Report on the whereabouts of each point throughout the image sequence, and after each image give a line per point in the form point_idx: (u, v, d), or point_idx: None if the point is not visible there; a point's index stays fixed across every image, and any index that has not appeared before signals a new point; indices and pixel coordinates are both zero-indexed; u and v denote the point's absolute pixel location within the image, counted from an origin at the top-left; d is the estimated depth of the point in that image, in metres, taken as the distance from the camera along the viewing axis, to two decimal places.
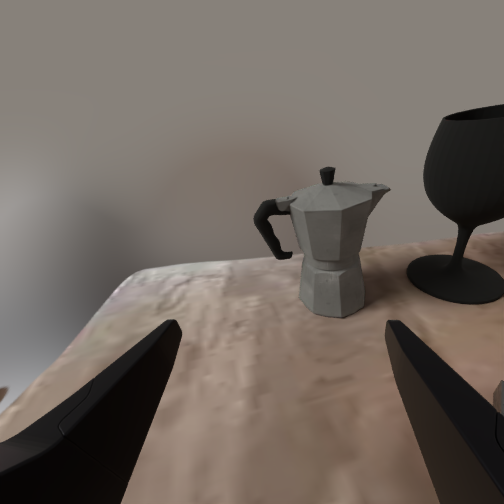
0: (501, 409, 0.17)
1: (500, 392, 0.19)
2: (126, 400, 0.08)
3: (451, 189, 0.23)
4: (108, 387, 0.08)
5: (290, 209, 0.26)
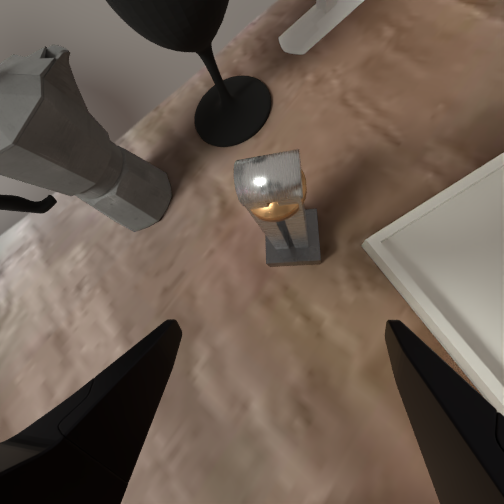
0: (266, 239, 0.23)
1: None
2: (126, 400, 0.08)
3: (134, 16, 0.16)
4: (108, 387, 0.08)
5: None
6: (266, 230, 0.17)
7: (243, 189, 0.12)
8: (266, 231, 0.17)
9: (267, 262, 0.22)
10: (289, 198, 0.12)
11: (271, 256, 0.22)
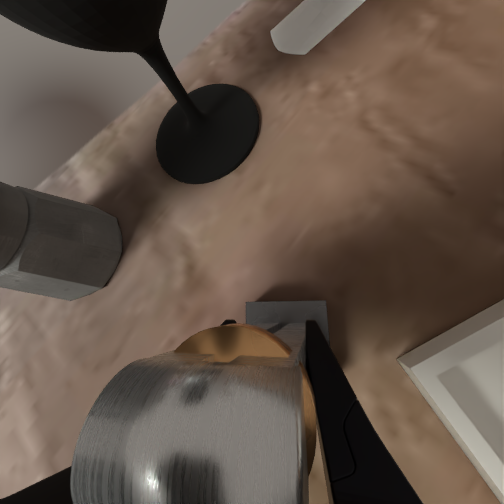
0: None
1: None
2: None
3: None
4: None
5: None
6: None
7: None
8: None
9: None
10: None
11: None
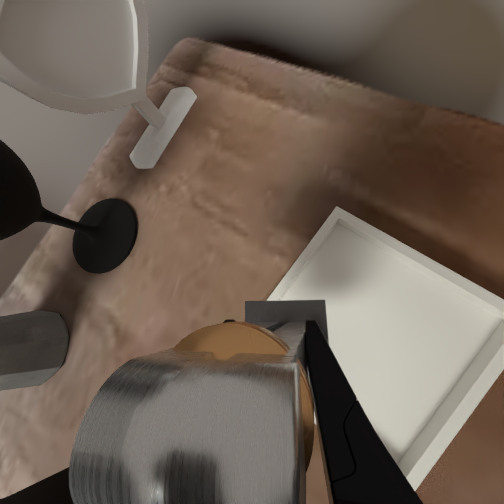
0: None
1: None
2: None
3: None
4: None
5: None
6: None
7: None
8: None
9: None
10: None
11: None
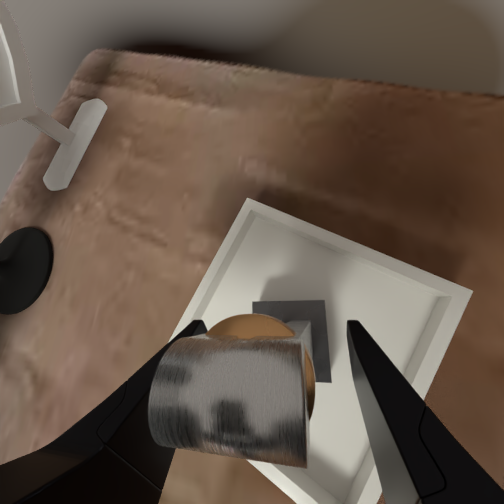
0: None
1: None
2: None
3: None
4: (143, 390, 0.07)
5: None
6: None
7: (171, 443, 0.05)
8: None
9: None
10: None
11: None
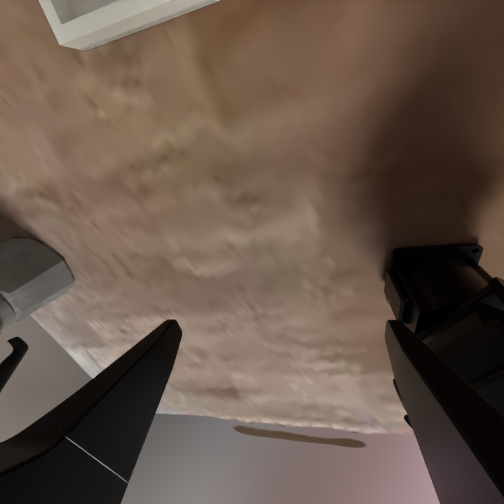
0: None
1: None
2: (126, 400, 0.08)
3: None
4: (108, 387, 0.08)
5: None
6: None
7: None
8: None
9: None
10: None
11: None
